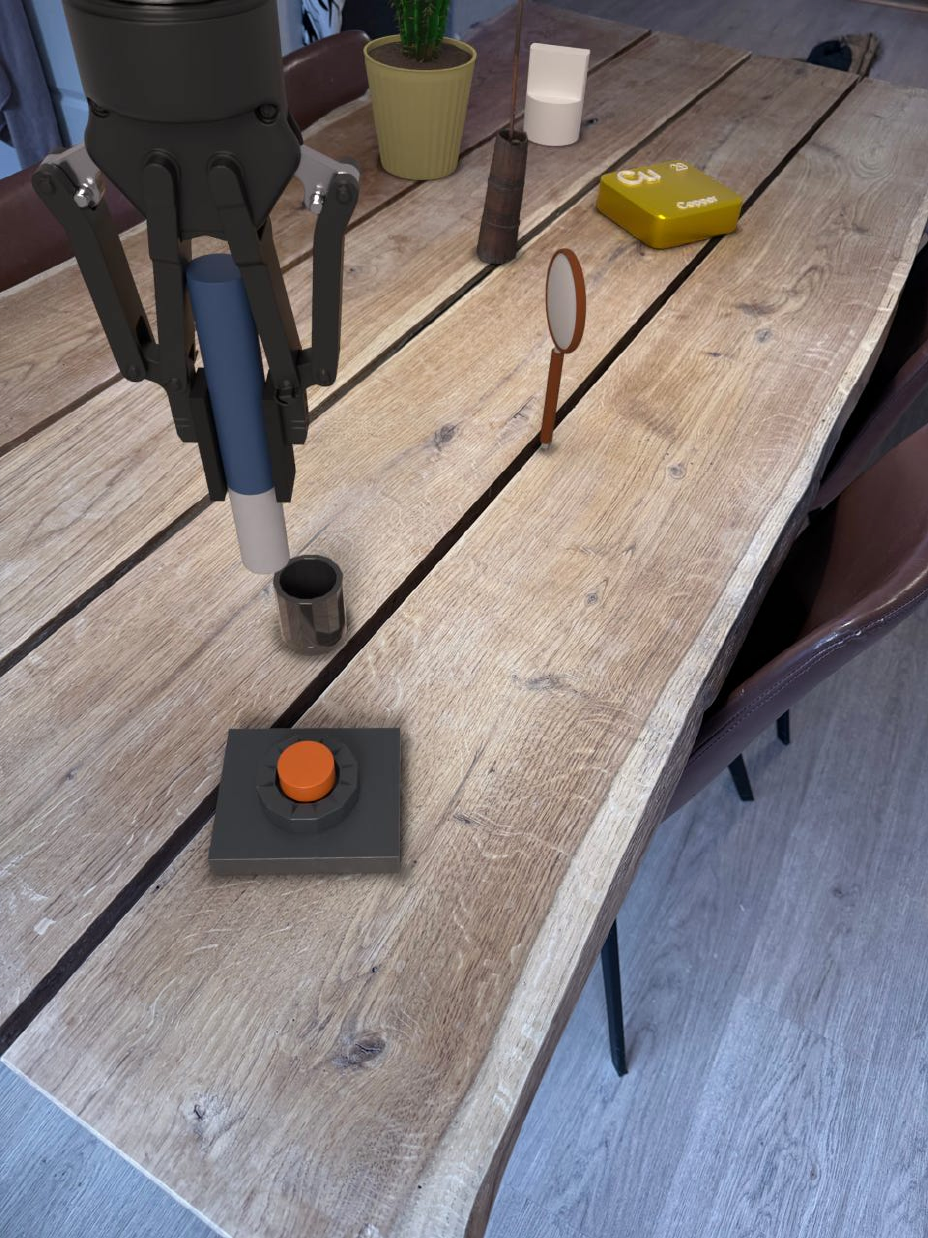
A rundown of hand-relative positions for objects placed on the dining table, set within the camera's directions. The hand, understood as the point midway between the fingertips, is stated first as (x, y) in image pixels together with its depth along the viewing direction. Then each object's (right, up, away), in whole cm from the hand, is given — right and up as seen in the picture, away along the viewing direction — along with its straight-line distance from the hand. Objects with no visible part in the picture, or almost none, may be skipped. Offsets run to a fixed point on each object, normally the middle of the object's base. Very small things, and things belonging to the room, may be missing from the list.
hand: (253, 484), depth 49 cm
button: (+1, -18, +10) cm, 20 cm away
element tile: (+39, +48, +76) cm, 99 cm away
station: (+1, -20, +13) cm, 24 cm away
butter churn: (+16, +39, +66) cm, 78 cm away
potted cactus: (+5, +60, +85) cm, 104 cm away
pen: (0, -4, +4) cm, 6 cm away
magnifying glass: (+20, +9, +41) cm, 46 cm away
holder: (0, -8, +23) cm, 25 cm away
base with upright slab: (+25, +70, +95) cm, 121 cm away
